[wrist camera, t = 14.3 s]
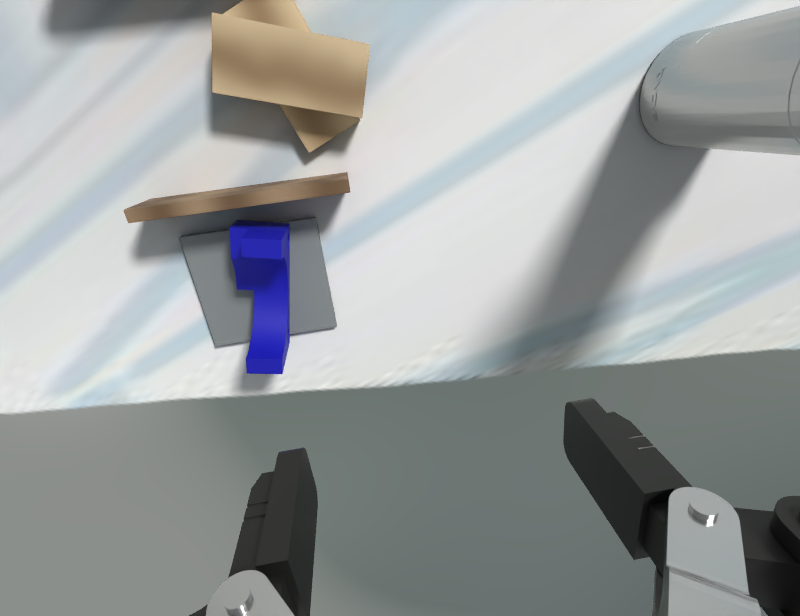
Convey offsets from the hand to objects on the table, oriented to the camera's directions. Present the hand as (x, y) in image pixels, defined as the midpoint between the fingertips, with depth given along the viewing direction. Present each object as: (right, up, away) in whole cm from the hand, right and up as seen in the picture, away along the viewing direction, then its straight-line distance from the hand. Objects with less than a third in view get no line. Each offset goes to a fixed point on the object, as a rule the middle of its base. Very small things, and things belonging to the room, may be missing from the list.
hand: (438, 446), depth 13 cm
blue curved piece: (-14, +6, +27) cm, 32 cm away
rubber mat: (-14, +7, +28) cm, 32 cm away
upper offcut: (-9, +23, +20) cm, 32 cm away
